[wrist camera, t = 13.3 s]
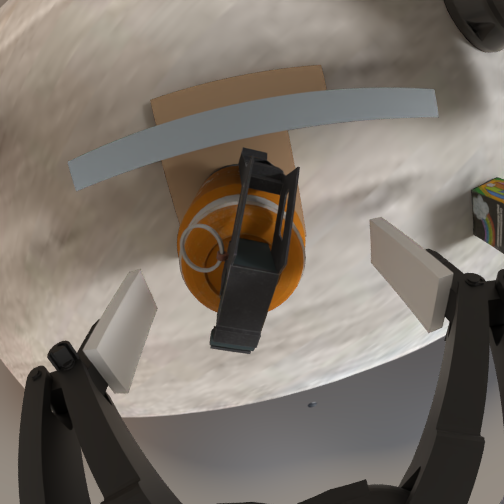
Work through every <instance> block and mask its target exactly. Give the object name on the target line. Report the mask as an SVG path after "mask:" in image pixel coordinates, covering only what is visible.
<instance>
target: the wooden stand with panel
mask: <svg viewBox="0 0 504 504" xmlns="http://www.w3.org/2000/svg"><path fill="white" fill-rule="evenodd" d="M150 101H151V106H152V110H153V114H154V118H155V122H156V126H154V127H151V128H148V129H145V130H143V131H140V132H137V133H134V134H132V135H129V136H126V137H124V138H121V139H119V140H116V141H114V142H111V143H109V144H106V145H104V146H101V147H99V148H97V149H94V150H92V151H90V152H88V153H85V154H83V155H81V156H79V157H77V158H75V159H73V160H71V161H68V166H69V169H70V173H71V176H72V180H73V183H74V186H75V189H76V191H79V190H81V189H83V188H86V187H88V186H91V185H93V184H96V183H98V182H101V181H103V180H106V179H109V178H111V177H114V176H117V175H119V174H122V173H125V172H128V171H131V170H133V169H136V168H139V167H142V166H145V165H148V164H151V163H155V162H158V161H161V162H162V165H163V169H164V173H165V176H166V180H167V183H168V187H169V190H170V194H171V197H172V200H173V204H174V207H175V210H176V214H177V217H178V220H179V223H180V224H181V222H182V220H183V217H184V215H185V214H186V212H187V210H188V208H189V207H190V205H191V203H192V201H193V200H194V198H195V196H196V194H197V193H198V191H199V189H200V188H201V186H202V184H203V183H204V181H205V180H206V179H207V178H208V177H209V176H210V174H212V173H213V172H214V171H216V170H218V169H220V168H221V167H224V166H227V165H232V164H238V163H239V159H240V156H241V152H242V148H243V147H244V148H249V149H253V150H257V151H261V152H266V153H267V160H268V161H269V162H270V163H271V164H273V165H274V166H276V167H279V168H280V169H281V170H283V171H284V174H285V175H287V174H289V173H290V172H291V171H293V170H294V169H295V165H294V160H293V155H292V149H291V144H290V139H289V135H288V130H291V129H297V128H304V127H310V126H317V125H325V124H333V123H342V122H351V121H362V120H374V119H390V118H416V117H439V114H438V108H437V101H436V95H435V90H434V89H422V88H351V89H336V90H327V88H326V84H325V80H324V75H323V71H322V67H321V65H313V66H301V67H292V68H284V69H276V70H269V71H263V72H257V73H251V74H246V75H240V76H235V77H231V78H226V79H222V80H217V81H213V82H209V83H205V84H201V85H197V86H194V87H190V88H186V89H183V90H180V91H176V92H173V93H170V94H167V95H164V96H160V97H157V98H155V99H152V100H150ZM288 194H289V192H288ZM288 194H287V198H286V199H287V200H288ZM295 211H296V212H297V214H298V216H299V218H300V220H301V222H302V225H303V229H304V232H305V237H306V230H305V224H304V217H303V211H302V205H301V199H300V193H299V187H298V186H297V194H296V202H295Z"/></svg>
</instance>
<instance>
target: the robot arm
mask: <svg viewBox="0 0 504 504" xmlns="http://www.w3.org/2000/svg"><path fill="white" fill-rule="evenodd" d="M444 1H445V4H446V7H447V9H448V11H449V13H450V15H451V17H452V19H453V20H454V22H455V24H456V25H457V27H458V28H459V29H460V31H461V32H462V33H463V34H464V36H465V37H466V38H467V39H468V40H469V41H470V42H471V43H472V44H473V45H474V46H475V47H477V48H478V49H480V50H482V51H484V52H488V53H490V52H498V51H501V50H502V49H504V0H444ZM370 236H371V263H372V264H373V265H374V267H375V268H376V269H377V270H378V271H379V272H380V274H381V275H382V276H383V277H384V278H385V279H386V281H387V282H388V283H389V284H390V285H391V286H392V288H393V289H394V290H395V291H396V292H397V294H398V295H399V296H400V297H401V298H402V300H403V301H404V302H405V303H406V305H407V306H408V307H409V308H410V310H411V311H412V312H413V313H414V315H415V316H416V317H417V318H418V320H419V321H420V322H421V324H422V325H423V326H424V327H425V329H426V330H427V331H428V333H430V332H433V331H435V330H437V329H440V328H442V326H443V322H444V318H445V317H446V318H447V319H448V320H449V326H448V330H447V333H446V337H445V341H446V344H445V350H444V356H443V360H442V365H441V370H440V374H439V379H438V383H437V387H436V391H435V395H434V399H433V402H432V406H431V409H430V412H429V416H428V419H427V422H426V425H425V428H424V431H423V434H422V437H421V439H420V442H419V445H418V447H417V450H416V452H415V455H414V458H413V460H412V462H411V464H410V466H409V468H408V470H407V472H406V474H405V475H404V477H403V479H402V481H401V483H400V485H399V487H396V486H391V485H367V481H366V479H365V480H362V481H359V482H356V483H352V484H349V485H345V486H342V487H338V488H334V489H330V490H328V491H326V492H324V493H321V494H319V495H317V496H315V497H312V498H310V499H307V500H305V501H303V502H300V503H298V504H467V503H468V501H469V498H470V495H471V492H472V489H473V486H474V483H475V480H476V477H477V473H478V469H479V466H480V462H481V458H482V454H483V450H484V444H485V440H484V437H482V436H481V435H480V432H481V426H482V420H483V414H484V407H485V400H486V392H487V382H488V368H489V344H490V347H491V351H492V355H493V360H494V364H495V369H496V374H497V379H498V385H499V391H500V397H501V405H502V413H503V424H504V269H502V270H500V271H499V272H498V274H497V278H496V280H494V281H485V279H484V278H483V277H481V276H480V275H478V274H474V273H465V274H463V273H462V272H461V271H460V270H459V269H457V268H456V267H455V266H454V265H453V264H451V263H450V262H448V260H446V259H445V258H443V256H441V255H440V254H439V253H437V252H435V251H433V250H430V249H423V248H422V247H421V246H420V245H418V244H417V243H416V242H414V241H413V240H412V239H411V238H409V237H408V236H407V235H405V234H404V233H403V232H401V231H400V230H399V229H397V228H396V227H395V226H393V225H392V224H390V223H389V222H388V221H386V220H385V219H383V218H382V217H379V218H375V219H370ZM157 309H158V308H157V306H156V303H155V301H154V299H153V297H152V294H151V292H150V290H149V288H148V285H147V283H146V281H145V278H144V276H143V274H142V271H141V269H139V270H135V271H131V272H129V273H128V275H127V276H126V278H125V279H124V281H123V283H122V284H121V286H120V287H119V289H118V290H117V292H116V294H115V295H114V297H113V298H112V300H111V302H110V303H109V305H108V307H107V308H106V310H105V312H104V313H103V315H102V317H101V318H100V319H99V320H98V321H97V322H96V323H95V324H94V325H93V326H92V327H91V329H90V331H89V334H87V336H86V339H84V341H83V343H82V345H81V347H80V348H79V350H78V352H77V353H76V351H75V350H74V348H73V347H72V345H71V344H70V342H69V341H61V342H59V343H57V344H56V345H54V346H53V347H52V348H51V349H50V351H49V353H48V356H47V358H48V359H49V360H50V362H51V363H52V365H53V366H54V367H55V368H56V370H57V371H54V372H51V373H49V372H48V370H47V369H46V368H45V367H44V366H38V367H36V368H34V369H32V370H31V371H30V373H29V375H28V377H27V381H26V386H25V392H24V398H23V405H22V413H21V423H20V434H19V453H18V478H19V479H18V481H19V498H20V504H91V502H90V498H89V493H88V489H87V483H86V478H85V473H84V467H83V460H82V454H81V449H82V451H83V453H84V456H85V458H86V461H87V463H88V465H89V468H90V470H91V472H92V474H93V476H94V478H95V480H96V483H97V484H98V487H99V489H100V490H101V492H102V494H103V496H104V501H103V502H101V503H100V504H182V503H181V502H180V501H179V500H178V498H177V497H176V496H175V495H174V494H173V492H172V491H171V490H170V489H169V487H168V486H167V485H166V484H165V483H164V481H163V480H162V478H161V477H160V476H159V474H158V473H157V472H156V470H155V469H154V468H153V466H152V465H151V463H150V462H149V461H148V459H147V458H146V456H145V455H144V453H143V452H142V450H141V449H140V447H139V446H138V444H137V443H136V441H135V439H134V438H133V436H132V435H131V433H130V431H129V430H128V428H127V426H126V425H125V423H124V421H123V420H122V418H121V416H120V414H119V413H118V411H117V409H116V407H115V405H114V403H113V402H112V400H111V398H110V396H109V395H108V394H107V392H106V389H107V387H108V386H109V387H110V388H111V389H112V391H113V392H114V393H129V390H130V386H131V383H132V380H133V377H134V374H135V371H136V368H137V365H138V362H139V359H140V356H141V353H142V350H143V347H144V344H145V341H146V339H147V336H148V333H149V330H150V328H151V325H152V322H153V319H154V317H155V314H156V311H157ZM52 411H53V413H52ZM220 504H221V503H220ZM223 504H265V503H256V502H246V503H223ZM499 504H504V497H503V500H501V502H500V503H499Z"/></svg>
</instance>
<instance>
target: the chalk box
mask: <svg viewBox="0 0 504 504" xmlns="http://www.w3.org/2000/svg"><path fill="white" fill-rule="evenodd" d="M471 191H472V202H473V220H474V235H475V236H477V237H478V238H480V239H482V240H483V241H485V242H486V243H488V244H490V245H491V246H493V247H494V248H496V249H497V250H499V251H500V252H502V253H503V254H504V179H501V178H495V179H493V180H491V181H489V182H487V183H485V184H483V185H481V186H479V187H477V188H475V189H473V190H471Z"/></svg>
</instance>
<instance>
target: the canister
mask: <svg viewBox="0 0 504 504" xmlns="http://www.w3.org/2000/svg"><path fill="white" fill-rule="evenodd" d="M299 169H300V167H297V168H296V169H294V170H293V171H291V172H290V173H289V174H287V175H285V174H284V171H283V170H281V169H280V168H279V167H276V166H274V165H273V164H271V163H270V162H269V161H268V160H267V153H266V152H261V151H257V150H253V149H249V148H244V147H243V148H242V152H241V156H240V159H239V163H238V164H232V165H227V166H224V167H221V168H220V169H218V170H216V171H214V172H213V173H212V174H210V176H209V177H208V178H207V179H206V180H205V181H204V183H203V184H202V186H201V188H200V189H199V191H198V193H197V194H196V196H195V198H194V200H193V201H192V203H191V205H190V207H189V208H188V210H187V212H186V214H185V215H184V217H183V220H182V222H181V224H180V227H179V231H178V235H177V251H178V256H179V265H180V271H181V274H182V278H183V280H184V282H185V284H186V286H187V287H188V289H189V290H190V292H191V293H192V294H193V295H194V296H195V298H196V299H197V300H198V301H199V302H201V303H202V304H203V305H205V306H206V307H207V308H209V309H211V310H213V311H215V312H217V323H216V326H214V328H213V329H212V331H211V337H210V345H211V348H212V349H218V350H225V351H232V352H239V353H246V354H250V353H251V351H254V349H255V348H257V345H258V342H259V339H260V337H261V331H262V328H263V325H264V322H265V319H266V316H267V313H268V311H271V310H273V309H274V308H276V307H278V306H279V305H281V304H282V303H283V302H284V301H286V300H287V299H288V298H289V296H290V295H291V294H292V293H293V291H294V290H295V288H296V287H297V285H298V284H299V282H300V279H301V277H302V275H303V271H304V267H305V259H306V256H305V232H304V229H303V225H302V222H301V220H300V218H299V216H298V214H297V212H296V211H295V202H296V194H297V186H298V178H299ZM288 192H289V194H288ZM287 194H288V200H287V199H286V198H287Z"/></svg>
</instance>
